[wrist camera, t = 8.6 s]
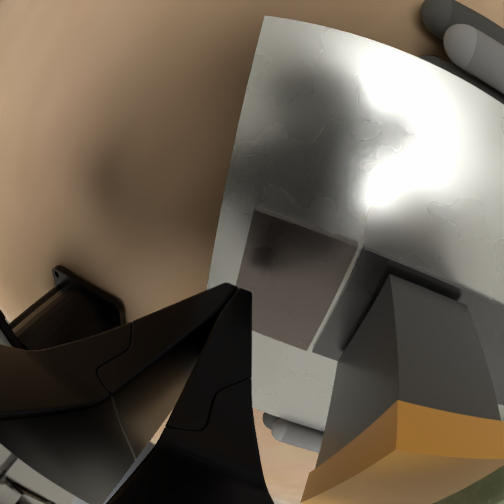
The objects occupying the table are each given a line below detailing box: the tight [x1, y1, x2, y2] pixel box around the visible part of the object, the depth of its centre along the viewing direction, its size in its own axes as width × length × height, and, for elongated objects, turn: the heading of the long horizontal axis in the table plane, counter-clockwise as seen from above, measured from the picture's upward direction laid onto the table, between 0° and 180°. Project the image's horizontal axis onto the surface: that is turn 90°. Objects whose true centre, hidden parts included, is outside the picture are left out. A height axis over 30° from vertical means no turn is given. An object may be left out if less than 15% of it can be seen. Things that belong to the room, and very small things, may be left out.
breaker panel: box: [207, 16, 504, 431], centre depth 9 cm, size 24×16×2 cm, turn 77°
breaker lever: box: [301, 274, 504, 504], centre depth 6 cm, size 3×4×6 cm
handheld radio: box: [432, 465, 504, 504], centre depth 13 cm, size 7×3×25 cm
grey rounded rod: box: [263, 412, 324, 453], centre depth 14 cm, size 14×4×3 cm, turn 77°
